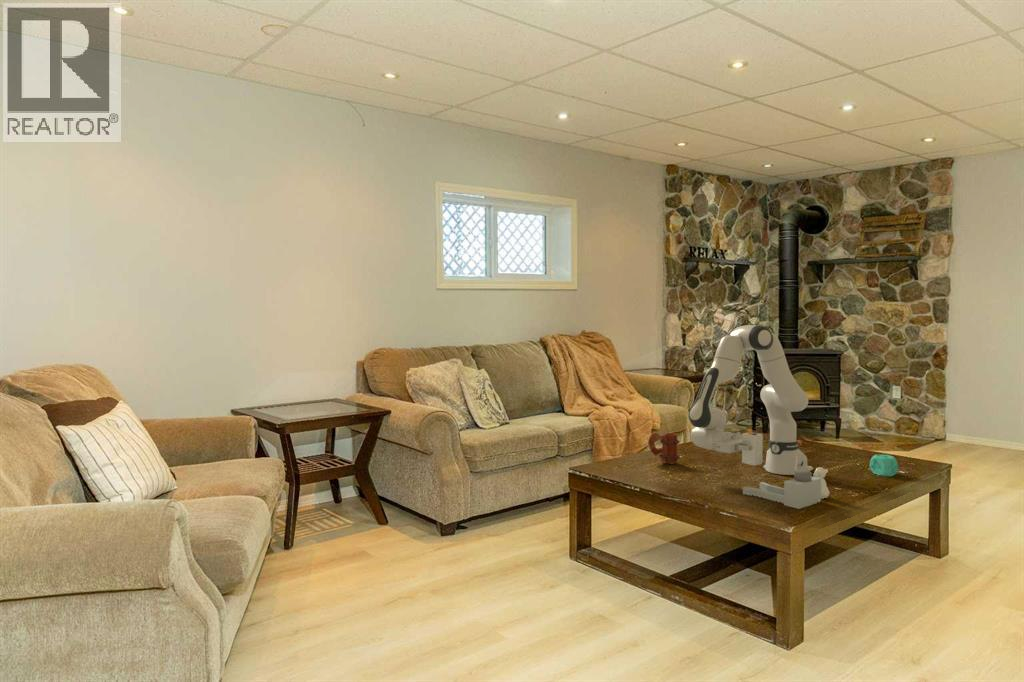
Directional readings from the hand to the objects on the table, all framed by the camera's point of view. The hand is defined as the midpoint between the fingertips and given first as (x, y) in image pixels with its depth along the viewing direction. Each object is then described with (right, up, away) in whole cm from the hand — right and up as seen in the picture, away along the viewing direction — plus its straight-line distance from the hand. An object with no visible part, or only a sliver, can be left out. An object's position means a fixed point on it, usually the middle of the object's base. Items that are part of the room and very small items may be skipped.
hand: (754, 447), depth 273 cm
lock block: (-1, -6, +1) cm, 7 cm away
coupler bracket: (+7, -18, -8) cm, 21 cm away
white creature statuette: (+22, -18, -7) cm, 30 cm away
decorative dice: (+66, -16, +26) cm, 73 cm away
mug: (-25, -15, +49) cm, 57 cm away
